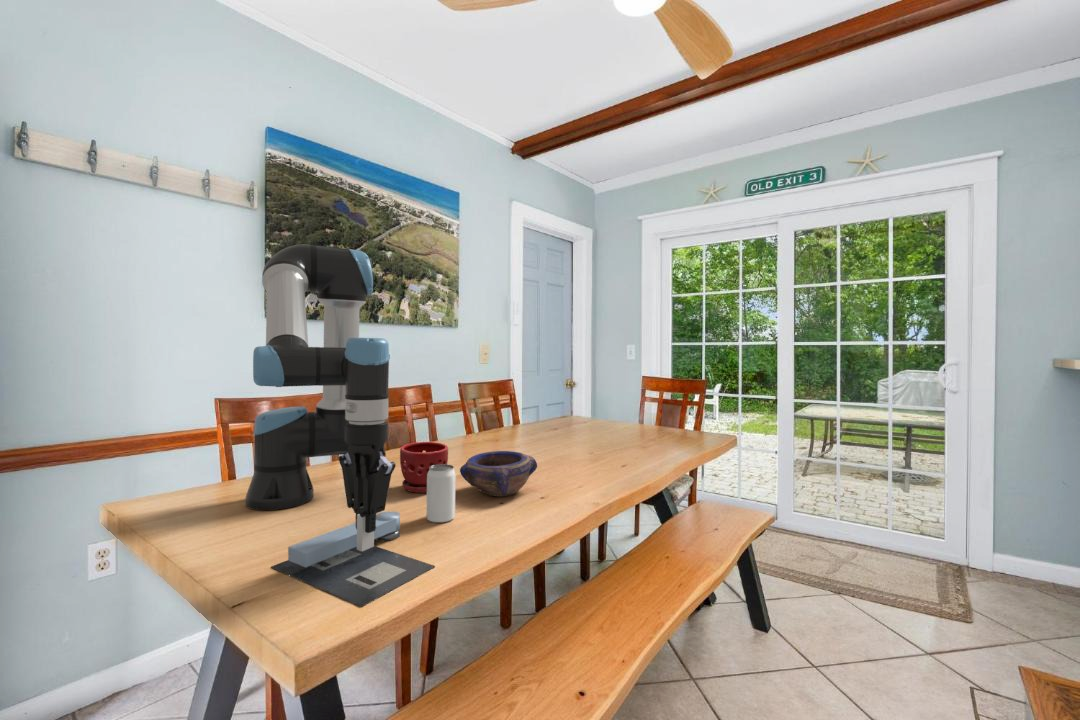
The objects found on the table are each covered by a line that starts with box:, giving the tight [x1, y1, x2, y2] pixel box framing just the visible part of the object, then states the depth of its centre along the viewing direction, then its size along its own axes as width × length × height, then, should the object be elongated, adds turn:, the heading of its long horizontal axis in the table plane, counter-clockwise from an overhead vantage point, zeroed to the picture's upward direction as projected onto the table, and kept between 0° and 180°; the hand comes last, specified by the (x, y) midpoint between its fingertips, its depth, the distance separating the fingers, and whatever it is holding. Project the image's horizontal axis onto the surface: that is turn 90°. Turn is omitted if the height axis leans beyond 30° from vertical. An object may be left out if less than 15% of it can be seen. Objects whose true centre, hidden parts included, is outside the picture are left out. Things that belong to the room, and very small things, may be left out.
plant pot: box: [399, 441, 449, 494], centre depth 134 cm, size 13×13×12 cm
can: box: [426, 463, 456, 524], centre depth 111 cm, size 6×6×12 cm
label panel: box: [270, 545, 436, 608], centre depth 86 cm, size 24×16×1 cm, turn 59°
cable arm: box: [287, 511, 401, 567], centre depth 93 cm, size 5×22×3 cm, turn 149°
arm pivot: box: [375, 528, 401, 542], centre depth 100 cm, size 5×5×1 cm
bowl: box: [459, 450, 538, 497], centre depth 132 cm, size 18×18×10 cm
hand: (365, 547), depth 89 cm, fingers closed
